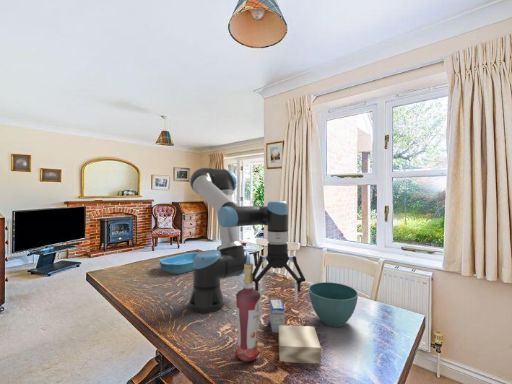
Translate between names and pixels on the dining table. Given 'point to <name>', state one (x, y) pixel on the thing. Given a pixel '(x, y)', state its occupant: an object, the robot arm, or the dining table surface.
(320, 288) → the plant pot
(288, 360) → the birch block
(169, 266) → the casserole dish
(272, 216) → the robot arm
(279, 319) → the medicine box
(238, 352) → the liquor
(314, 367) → the dining table surface
